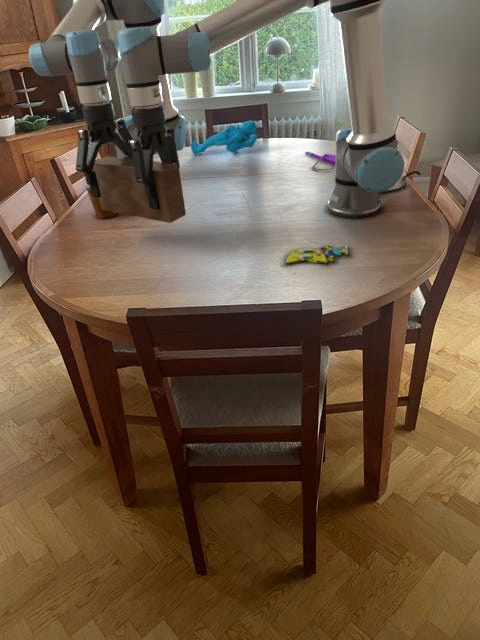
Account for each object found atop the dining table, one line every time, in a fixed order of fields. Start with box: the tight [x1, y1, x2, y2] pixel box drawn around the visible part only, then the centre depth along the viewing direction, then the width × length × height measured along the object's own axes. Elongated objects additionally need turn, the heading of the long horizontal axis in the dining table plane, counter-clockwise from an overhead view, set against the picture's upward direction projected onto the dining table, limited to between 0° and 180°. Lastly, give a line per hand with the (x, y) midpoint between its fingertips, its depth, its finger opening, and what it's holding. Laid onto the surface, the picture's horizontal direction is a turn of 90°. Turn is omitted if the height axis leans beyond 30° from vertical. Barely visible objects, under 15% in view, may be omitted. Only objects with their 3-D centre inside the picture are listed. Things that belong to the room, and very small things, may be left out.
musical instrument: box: [304, 151, 336, 171], centre depth 185 cm, size 24×2×20 cm
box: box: [92, 155, 186, 224], centre depth 125 cm, size 25×6×13 cm, turn 56°
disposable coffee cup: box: [83, 178, 117, 219], centre depth 152 cm, size 10×10×12 cm
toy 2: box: [285, 244, 349, 266], centre depth 118 cm, size 10×1×15 cm
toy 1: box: [189, 120, 258, 155], centre depth 209 cm, size 17×11×30 cm
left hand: (115, 188), depth 129 cm, fingers open, 13 cm apart
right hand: (163, 203), depth 122 cm, fingers closed on box, 6 cm apart
